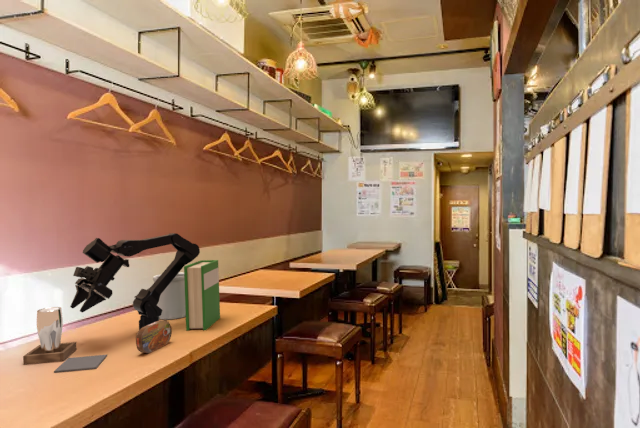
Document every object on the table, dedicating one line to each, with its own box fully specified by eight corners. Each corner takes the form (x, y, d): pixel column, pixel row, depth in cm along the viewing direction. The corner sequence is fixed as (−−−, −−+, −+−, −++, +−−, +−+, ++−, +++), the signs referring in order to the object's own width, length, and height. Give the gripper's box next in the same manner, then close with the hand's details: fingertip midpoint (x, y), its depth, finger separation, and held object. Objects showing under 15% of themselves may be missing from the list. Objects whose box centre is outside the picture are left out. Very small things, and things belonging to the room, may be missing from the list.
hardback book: (205, 330, 160) (203, 266, 159) (186, 330, 160) (183, 266, 160) (220, 318, 177) (218, 260, 177) (202, 318, 178) (200, 260, 178)
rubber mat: (107, 356, 135) (107, 354, 135) (96, 368, 124) (96, 367, 124) (68, 359, 132) (68, 357, 132) (54, 372, 122) (53, 371, 122)
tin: (142, 357, 133) (141, 329, 133) (134, 356, 134) (133, 329, 134) (173, 341, 147) (172, 317, 147) (165, 341, 148) (164, 317, 148)
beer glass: (51, 361, 131) (49, 312, 131) (32, 360, 133) (30, 311, 132) (69, 353, 138) (67, 306, 138) (50, 352, 140) (48, 306, 139)
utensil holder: (146, 318, 180) (144, 277, 179) (171, 310, 193) (170, 271, 193) (174, 321, 174) (172, 278, 174) (198, 312, 188) (196, 272, 187)
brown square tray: (76, 349, 142) (76, 341, 142) (63, 360, 131) (63, 352, 131) (39, 352, 140) (39, 344, 140) (23, 364, 129) (23, 356, 129)
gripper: (78, 255, 151) (46, 293, 144) (98, 258, 138) (64, 300, 131) (104, 273, 157) (74, 310, 150) (125, 278, 145) (94, 318, 137)
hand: (76, 309), depth 142 cm, fingers open, 9 cm apart
